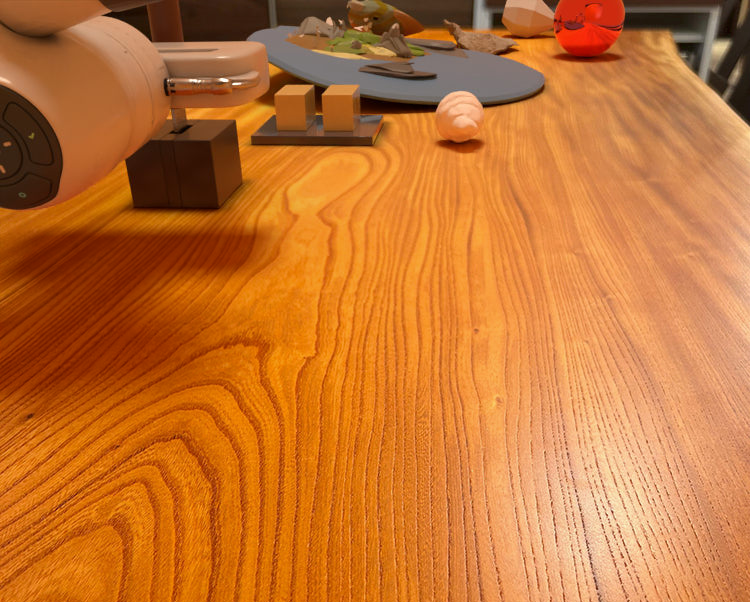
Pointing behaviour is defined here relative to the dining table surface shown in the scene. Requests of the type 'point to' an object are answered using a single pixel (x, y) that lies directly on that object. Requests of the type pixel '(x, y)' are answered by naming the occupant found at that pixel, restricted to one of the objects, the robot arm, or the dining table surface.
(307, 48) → the serving platter
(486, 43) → the coral
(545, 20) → the faceted beige polyhedron
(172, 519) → the dining table surface
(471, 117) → the peach ridged curved piece
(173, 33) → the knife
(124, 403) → the dining table surface
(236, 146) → the brown slotted box
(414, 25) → the decorative fish sculpture
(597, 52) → the ball
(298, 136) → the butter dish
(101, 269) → the dining table surface
